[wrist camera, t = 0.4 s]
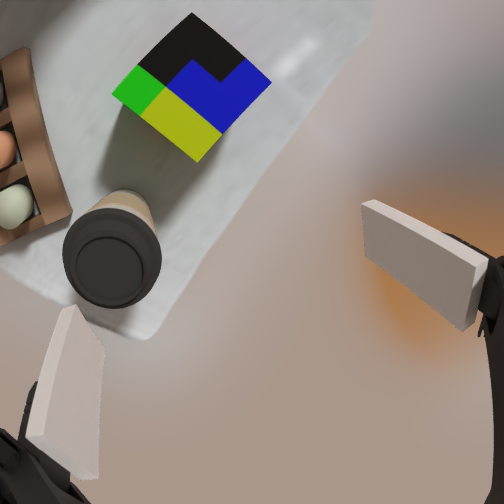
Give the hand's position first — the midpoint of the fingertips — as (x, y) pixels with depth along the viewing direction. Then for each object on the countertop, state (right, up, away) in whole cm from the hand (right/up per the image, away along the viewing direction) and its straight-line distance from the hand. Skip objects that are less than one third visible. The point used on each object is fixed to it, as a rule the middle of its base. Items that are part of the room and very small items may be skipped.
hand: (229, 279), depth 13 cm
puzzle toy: (-7, +19, +20) cm, 28 cm away
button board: (-29, +14, +15) cm, 35 cm away
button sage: (-27, +7, +17) cm, 32 cm away
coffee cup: (-15, +5, +23) cm, 28 cm away
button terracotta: (-28, +13, +13) cm, 34 cm away
